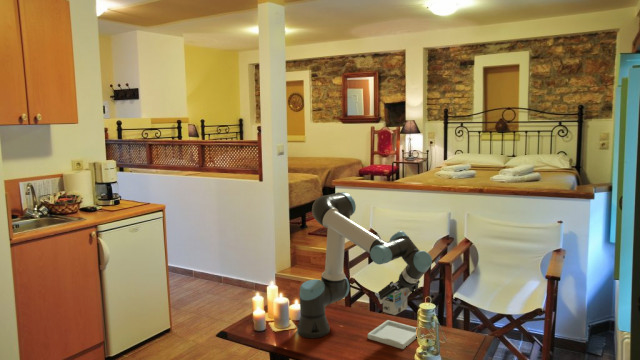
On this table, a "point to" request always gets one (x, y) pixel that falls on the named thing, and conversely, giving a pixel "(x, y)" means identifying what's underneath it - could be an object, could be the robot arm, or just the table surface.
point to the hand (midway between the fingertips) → (392, 298)
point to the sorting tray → (393, 334)
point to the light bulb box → (395, 302)
